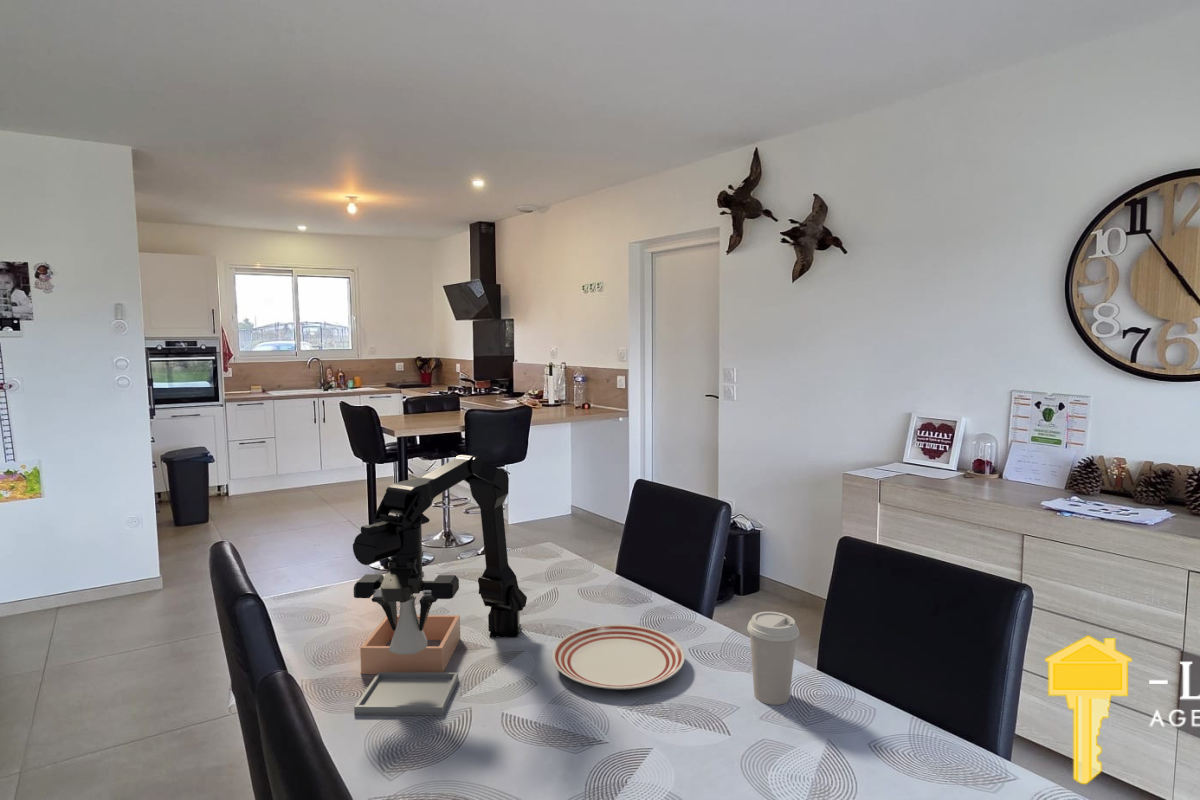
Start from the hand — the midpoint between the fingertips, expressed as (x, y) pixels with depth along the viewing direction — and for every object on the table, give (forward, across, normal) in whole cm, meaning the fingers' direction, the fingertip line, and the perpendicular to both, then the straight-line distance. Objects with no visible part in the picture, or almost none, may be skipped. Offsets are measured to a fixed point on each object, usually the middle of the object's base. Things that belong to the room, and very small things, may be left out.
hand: (408, 629), depth 132 cm
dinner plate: (+12, +40, +12) cm, 44 cm away
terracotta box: (+12, -4, +15) cm, 20 cm away
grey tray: (+12, 0, -2) cm, 12 cm away
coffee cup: (+12, +70, 0) cm, 71 cm away
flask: (+4, 0, 0) cm, 4 cm away
